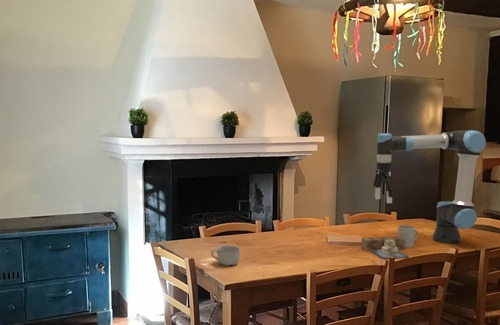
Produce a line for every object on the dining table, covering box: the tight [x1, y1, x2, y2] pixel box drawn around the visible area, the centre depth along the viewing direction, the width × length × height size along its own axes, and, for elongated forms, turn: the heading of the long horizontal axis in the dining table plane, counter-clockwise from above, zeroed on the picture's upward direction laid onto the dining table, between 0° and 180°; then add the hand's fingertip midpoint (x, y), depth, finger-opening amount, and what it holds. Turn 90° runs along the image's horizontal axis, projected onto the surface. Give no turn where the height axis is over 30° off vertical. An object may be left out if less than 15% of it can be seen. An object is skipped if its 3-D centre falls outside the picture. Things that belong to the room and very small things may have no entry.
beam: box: [361, 236, 405, 252], centre depth 258 cm, size 22×6×6 cm, turn 99°
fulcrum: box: [370, 240, 410, 260], centre depth 246 cm, size 14×14×8 cm
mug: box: [397, 224, 419, 249], centre depth 265 cm, size 12×8×11 cm
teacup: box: [210, 244, 241, 267], centre depth 227 cm, size 14×11×8 cm
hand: (383, 201), depth 258 cm, fingers open, 13 cm apart
